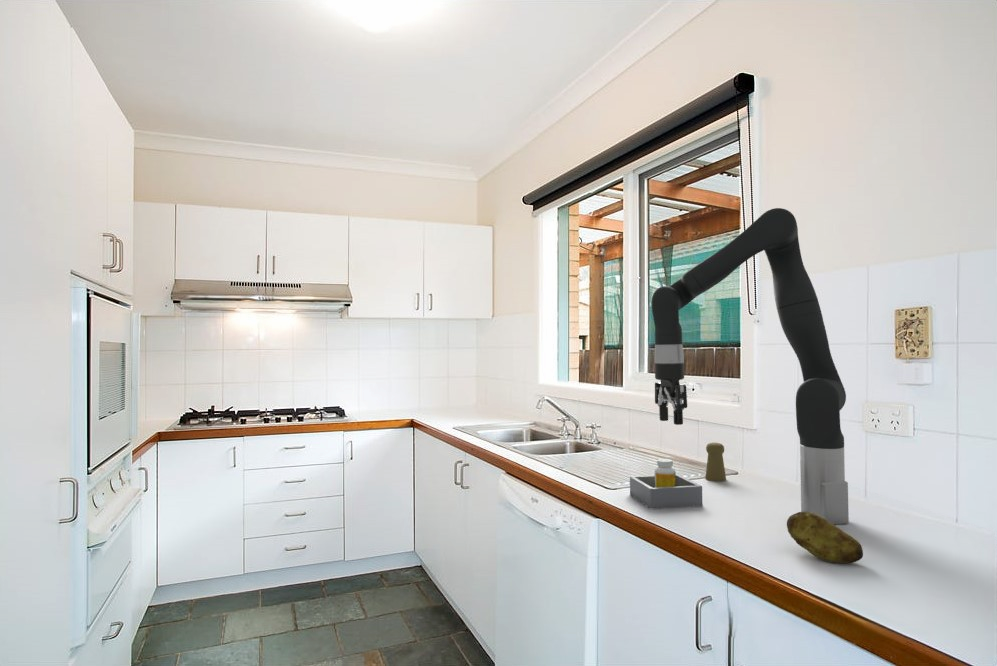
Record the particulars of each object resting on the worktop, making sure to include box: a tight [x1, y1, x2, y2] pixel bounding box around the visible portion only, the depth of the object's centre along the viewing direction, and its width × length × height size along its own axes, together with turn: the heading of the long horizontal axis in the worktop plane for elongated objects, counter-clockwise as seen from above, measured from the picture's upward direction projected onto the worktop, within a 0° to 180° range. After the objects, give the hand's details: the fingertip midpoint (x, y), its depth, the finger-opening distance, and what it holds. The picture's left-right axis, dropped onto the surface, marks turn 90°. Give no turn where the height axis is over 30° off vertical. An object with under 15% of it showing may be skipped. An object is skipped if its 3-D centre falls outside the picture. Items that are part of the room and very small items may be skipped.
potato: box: [786, 511, 864, 564], centre depth 116 cm, size 8×13×8 cm, turn 23°
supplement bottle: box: [654, 458, 677, 488], centre depth 159 cm, size 5×5×10 cm
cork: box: [704, 442, 727, 483], centre depth 181 cm, size 6×6×11 cm
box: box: [629, 473, 703, 509], centre depth 159 cm, size 14×14×5 cm
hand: (670, 422), depth 159 cm, fingers open, 8 cm apart
